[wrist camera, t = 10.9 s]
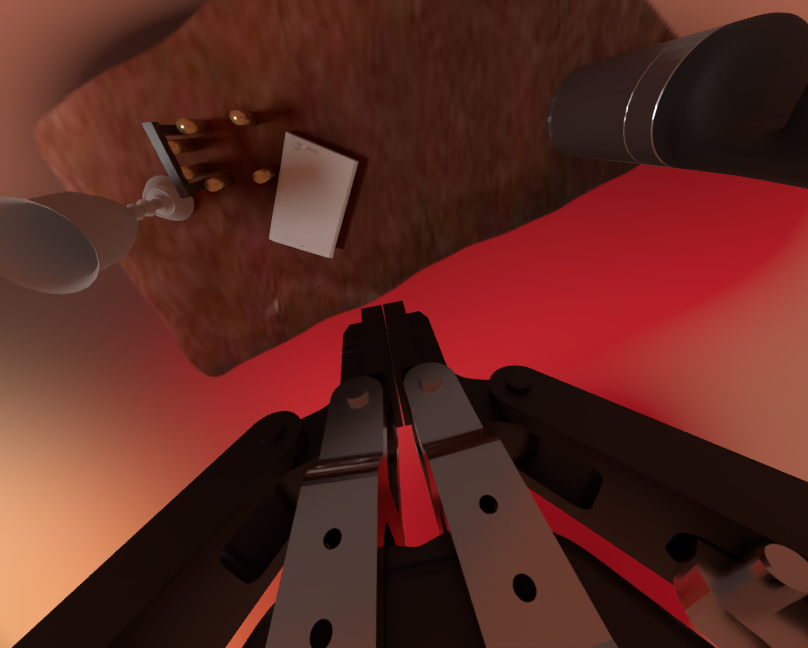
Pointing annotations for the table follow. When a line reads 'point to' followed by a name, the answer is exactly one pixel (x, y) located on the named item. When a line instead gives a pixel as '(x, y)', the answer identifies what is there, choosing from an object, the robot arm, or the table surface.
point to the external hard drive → (311, 196)
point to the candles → (172, 147)
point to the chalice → (76, 234)
